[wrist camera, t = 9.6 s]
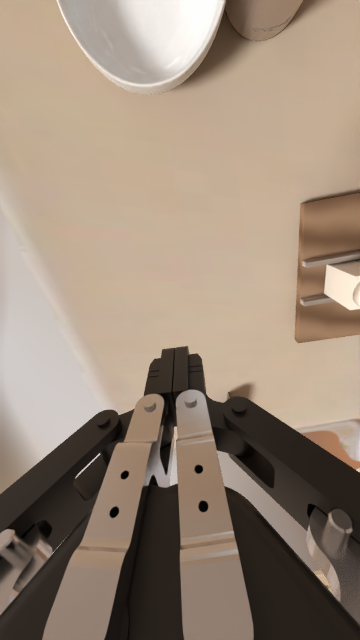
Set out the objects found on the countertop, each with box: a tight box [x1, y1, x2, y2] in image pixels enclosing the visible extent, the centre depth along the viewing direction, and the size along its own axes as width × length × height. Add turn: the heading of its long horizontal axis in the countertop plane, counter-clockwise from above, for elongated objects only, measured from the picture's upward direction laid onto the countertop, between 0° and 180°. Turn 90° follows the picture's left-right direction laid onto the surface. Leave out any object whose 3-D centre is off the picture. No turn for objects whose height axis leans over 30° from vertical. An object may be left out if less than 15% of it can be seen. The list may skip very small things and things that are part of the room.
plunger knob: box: [324, 259, 360, 310], centre depth 35 cm, size 5×5×9 cm
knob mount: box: [295, 193, 360, 343], centre depth 37 cm, size 24×14×8 cm, turn 10°
